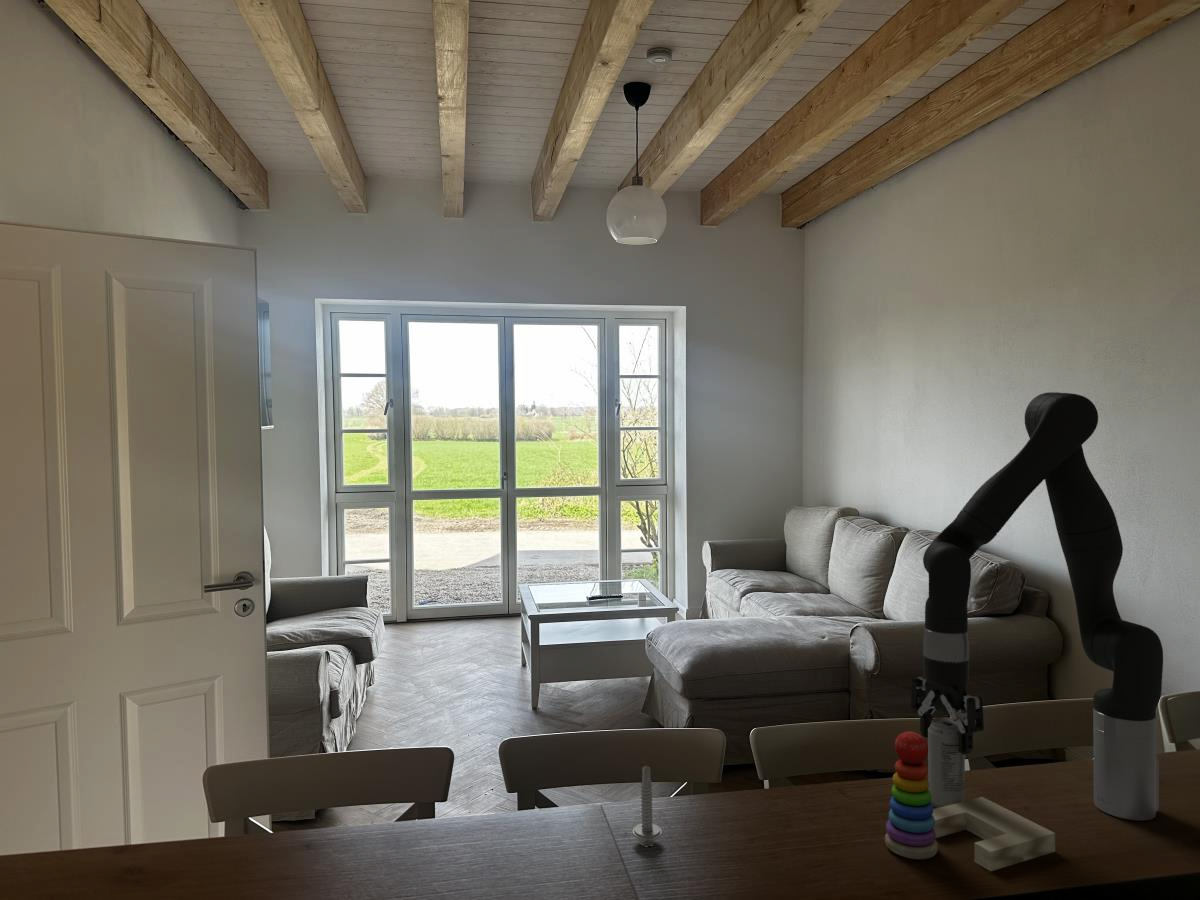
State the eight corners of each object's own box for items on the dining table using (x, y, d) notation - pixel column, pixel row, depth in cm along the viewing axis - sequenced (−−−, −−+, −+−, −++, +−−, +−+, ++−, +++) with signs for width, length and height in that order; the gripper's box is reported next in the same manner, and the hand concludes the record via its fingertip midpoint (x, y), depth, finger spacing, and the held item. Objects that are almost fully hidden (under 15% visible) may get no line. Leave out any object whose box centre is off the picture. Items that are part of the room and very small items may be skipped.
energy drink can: (952, 796, 146) (952, 715, 146) (972, 811, 140) (971, 727, 140) (922, 798, 145) (921, 717, 145) (940, 814, 139) (939, 729, 139)
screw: (665, 838, 132) (657, 853, 128) (637, 834, 134) (628, 848, 129) (664, 761, 132) (656, 773, 127) (636, 757, 134) (627, 769, 129)
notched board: (982, 813, 139) (981, 796, 139) (1055, 851, 126) (1054, 833, 126) (920, 830, 134) (920, 812, 134) (990, 871, 121) (990, 851, 121)
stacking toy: (943, 864, 123) (942, 744, 123) (888, 859, 125) (887, 741, 124) (932, 838, 131) (931, 726, 131) (881, 834, 133) (880, 723, 132)
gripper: (994, 662, 137) (994, 755, 137) (930, 643, 150) (930, 728, 150) (962, 667, 134) (962, 762, 134) (900, 647, 147) (900, 734, 147)
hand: (945, 744), depth 142 cm, fingers open, 8 cm apart
